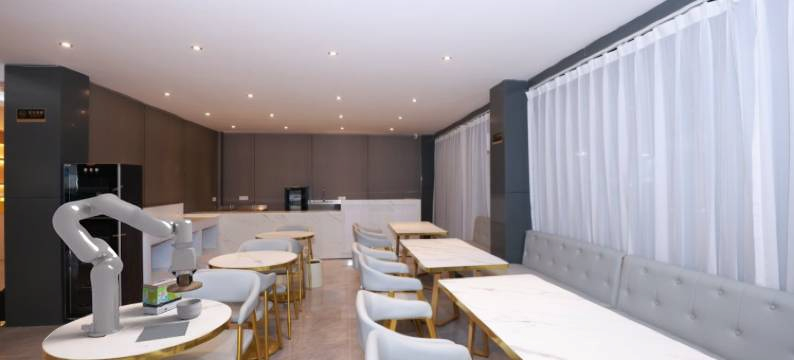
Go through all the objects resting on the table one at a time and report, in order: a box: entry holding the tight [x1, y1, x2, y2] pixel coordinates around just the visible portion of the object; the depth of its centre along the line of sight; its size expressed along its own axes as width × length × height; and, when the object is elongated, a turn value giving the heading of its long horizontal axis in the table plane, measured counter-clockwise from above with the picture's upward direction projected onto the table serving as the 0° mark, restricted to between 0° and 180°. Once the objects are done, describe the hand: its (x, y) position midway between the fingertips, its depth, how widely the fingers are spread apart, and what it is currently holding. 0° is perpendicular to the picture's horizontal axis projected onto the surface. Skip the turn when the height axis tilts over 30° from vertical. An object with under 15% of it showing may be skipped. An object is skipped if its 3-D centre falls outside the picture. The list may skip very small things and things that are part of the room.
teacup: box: [176, 297, 203, 321], centre depth 192 cm, size 14×11×8 cm
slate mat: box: [135, 320, 191, 343], centre depth 173 cm, size 18×18×1 cm
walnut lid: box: [167, 273, 203, 293], centre depth 187 cm, size 15×15×6 cm
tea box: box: [142, 277, 183, 316], centre depth 204 cm, size 15×10×15 cm, turn 162°
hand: (184, 283), depth 187 cm, fingers closed on walnut lid, 4 cm apart
